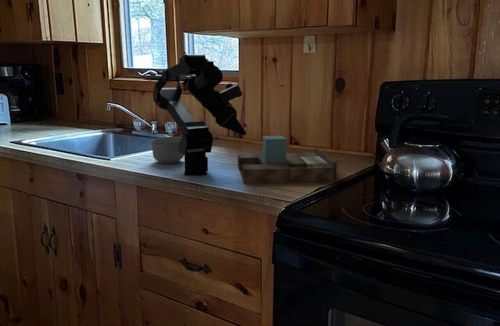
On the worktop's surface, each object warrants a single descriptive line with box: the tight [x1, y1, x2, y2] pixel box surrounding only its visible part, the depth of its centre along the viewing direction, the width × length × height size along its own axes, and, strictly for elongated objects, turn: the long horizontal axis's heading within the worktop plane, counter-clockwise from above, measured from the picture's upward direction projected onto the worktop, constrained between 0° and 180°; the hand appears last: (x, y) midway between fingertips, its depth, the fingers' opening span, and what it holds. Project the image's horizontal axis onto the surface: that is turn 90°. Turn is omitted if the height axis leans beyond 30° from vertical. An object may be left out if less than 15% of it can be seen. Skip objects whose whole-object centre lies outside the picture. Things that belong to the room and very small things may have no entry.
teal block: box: [262, 135, 287, 163], centre depth 138 cm, size 6×6×7 cm
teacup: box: [150, 136, 184, 165], centre depth 156 cm, size 14×11×8 cm
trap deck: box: [237, 147, 338, 185], centre depth 140 cm, size 26×22×6 cm
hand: (244, 132), depth 136 cm, fingers open, 7 cm apart
